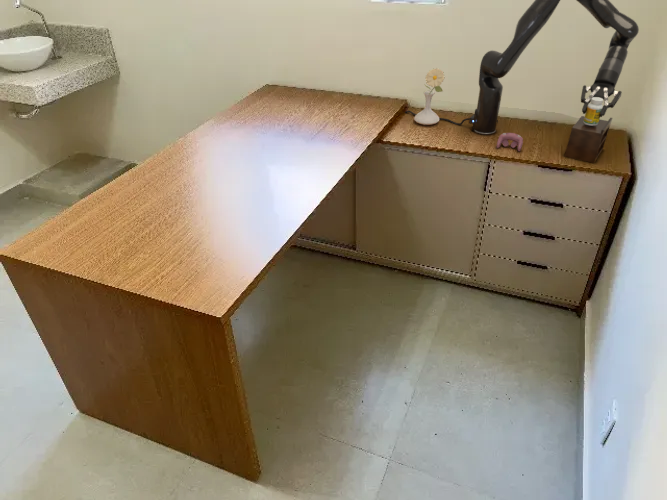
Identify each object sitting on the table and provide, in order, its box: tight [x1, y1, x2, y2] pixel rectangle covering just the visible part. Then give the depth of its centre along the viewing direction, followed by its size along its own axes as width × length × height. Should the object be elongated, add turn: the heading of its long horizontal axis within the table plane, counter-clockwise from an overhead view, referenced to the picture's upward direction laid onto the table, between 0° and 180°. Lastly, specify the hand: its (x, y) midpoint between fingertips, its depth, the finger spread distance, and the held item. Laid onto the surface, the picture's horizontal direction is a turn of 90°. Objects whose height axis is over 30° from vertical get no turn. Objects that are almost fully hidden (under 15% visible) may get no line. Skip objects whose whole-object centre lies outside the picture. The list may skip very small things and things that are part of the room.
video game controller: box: [496, 132, 524, 153], centre depth 206 cm, size 10×5×7 cm, turn 65°
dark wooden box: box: [564, 115, 613, 164], centre depth 198 cm, size 11×14×14 cm
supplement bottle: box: [583, 97, 604, 126], centre depth 191 cm, size 5×5×10 cm
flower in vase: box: [413, 67, 446, 126], centre depth 223 cm, size 13×11×25 cm
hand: (592, 114), depth 191 cm, fingers closed on supplement bottle, 5 cm apart
